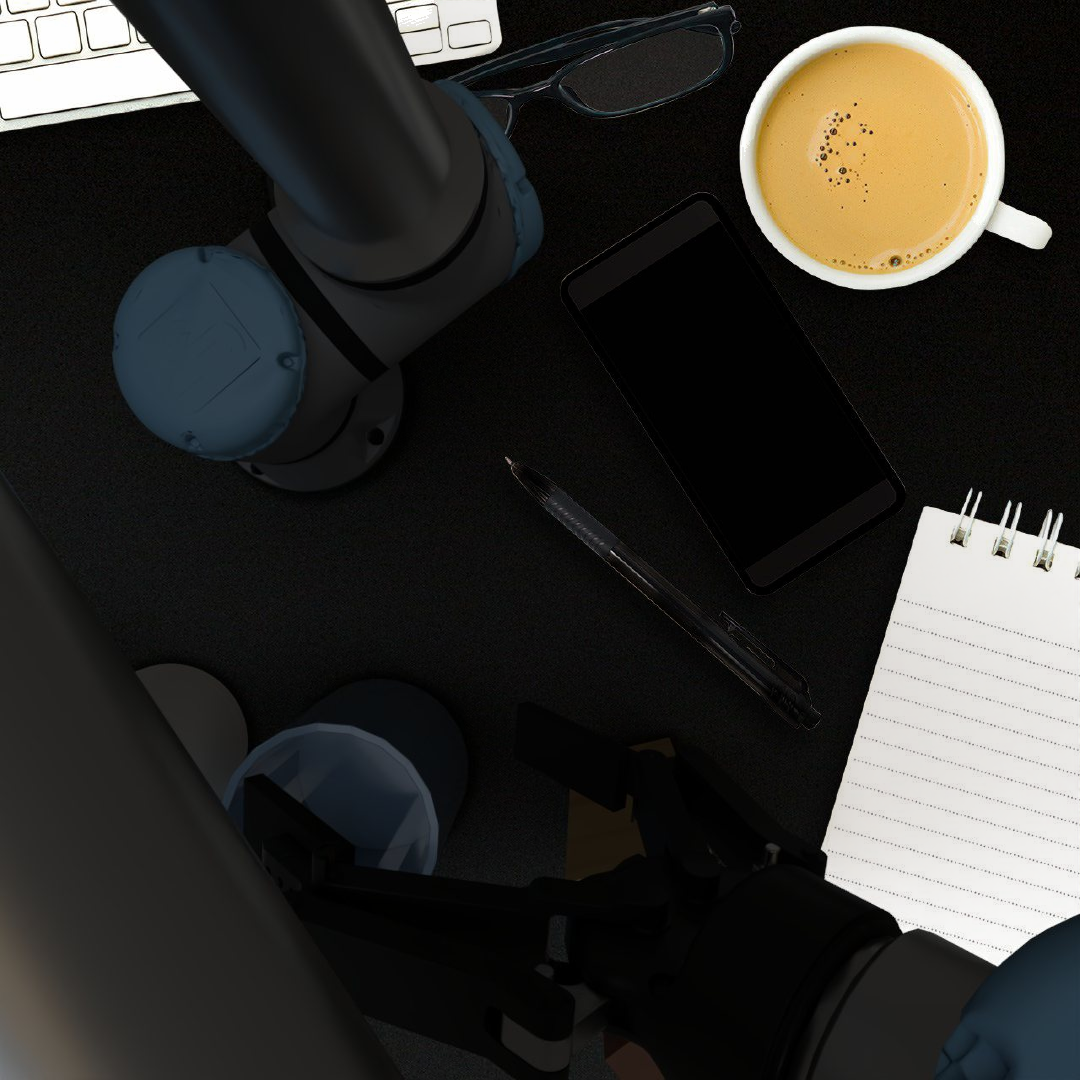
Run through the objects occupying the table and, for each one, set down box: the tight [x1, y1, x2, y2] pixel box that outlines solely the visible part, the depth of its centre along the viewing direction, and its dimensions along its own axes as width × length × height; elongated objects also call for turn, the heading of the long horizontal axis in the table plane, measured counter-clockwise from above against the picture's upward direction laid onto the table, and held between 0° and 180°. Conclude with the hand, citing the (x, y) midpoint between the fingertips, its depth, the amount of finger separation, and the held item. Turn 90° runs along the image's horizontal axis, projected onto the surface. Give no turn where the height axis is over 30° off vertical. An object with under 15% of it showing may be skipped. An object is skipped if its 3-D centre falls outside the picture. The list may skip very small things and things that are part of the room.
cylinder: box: [135, 663, 249, 801], centre depth 66 cm, size 12×12×25 cm
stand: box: [564, 737, 713, 881], centre depth 64 cm, size 8×8×25 cm
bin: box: [220, 678, 470, 876], centre depth 69 cm, size 14×14×16 cm
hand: (401, 763), depth 41 cm, fingers open, 13 cm apart
